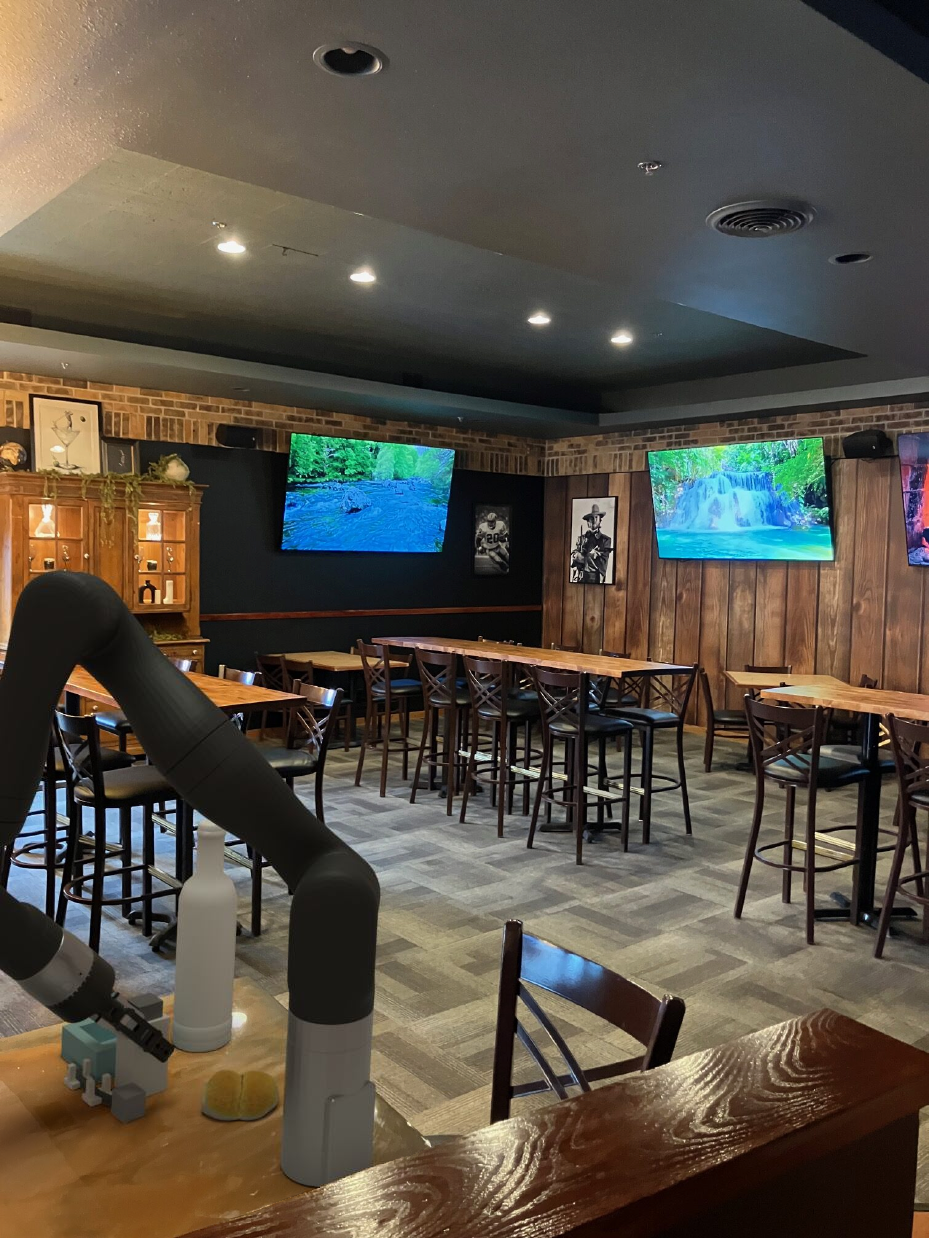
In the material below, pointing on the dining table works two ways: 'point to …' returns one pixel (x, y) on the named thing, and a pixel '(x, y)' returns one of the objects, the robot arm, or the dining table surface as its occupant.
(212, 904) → the bottle
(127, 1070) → the block
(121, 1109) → the cable run
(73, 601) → the robot arm
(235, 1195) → the dining table surface
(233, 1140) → the dining table surface
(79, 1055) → the end socket
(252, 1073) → the bread roll
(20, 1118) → the dining table surface
